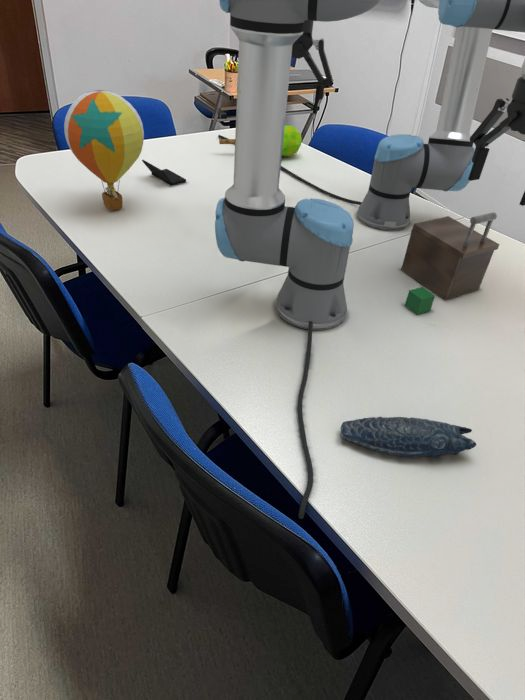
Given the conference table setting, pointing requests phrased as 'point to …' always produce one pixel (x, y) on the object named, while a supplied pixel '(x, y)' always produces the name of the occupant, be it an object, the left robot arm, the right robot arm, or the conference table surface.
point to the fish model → (407, 436)
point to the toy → (105, 138)
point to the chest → (443, 267)
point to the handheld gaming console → (165, 175)
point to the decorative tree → (290, 141)
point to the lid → (459, 235)
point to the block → (419, 300)
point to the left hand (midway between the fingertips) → (288, 109)
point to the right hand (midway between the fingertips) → (498, 191)
